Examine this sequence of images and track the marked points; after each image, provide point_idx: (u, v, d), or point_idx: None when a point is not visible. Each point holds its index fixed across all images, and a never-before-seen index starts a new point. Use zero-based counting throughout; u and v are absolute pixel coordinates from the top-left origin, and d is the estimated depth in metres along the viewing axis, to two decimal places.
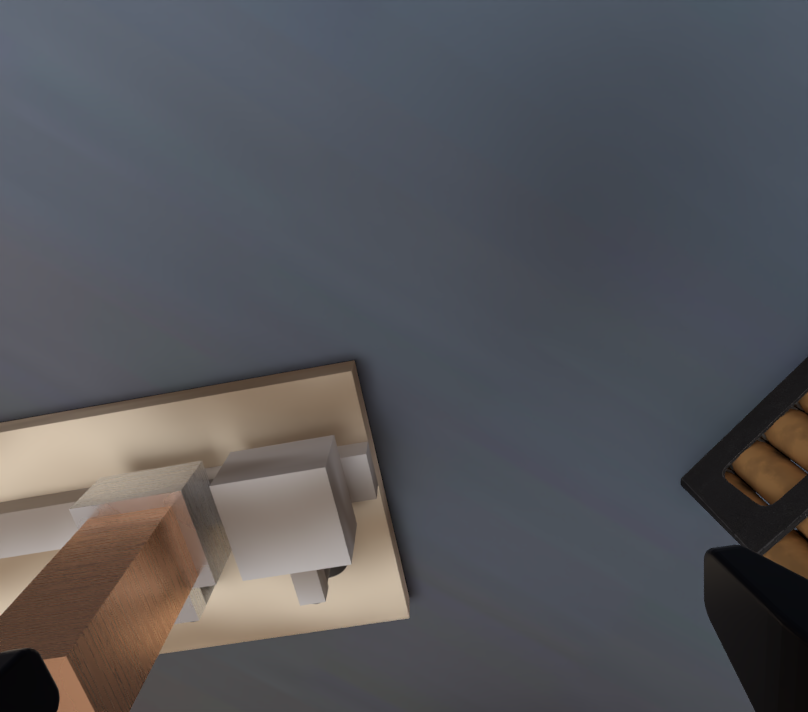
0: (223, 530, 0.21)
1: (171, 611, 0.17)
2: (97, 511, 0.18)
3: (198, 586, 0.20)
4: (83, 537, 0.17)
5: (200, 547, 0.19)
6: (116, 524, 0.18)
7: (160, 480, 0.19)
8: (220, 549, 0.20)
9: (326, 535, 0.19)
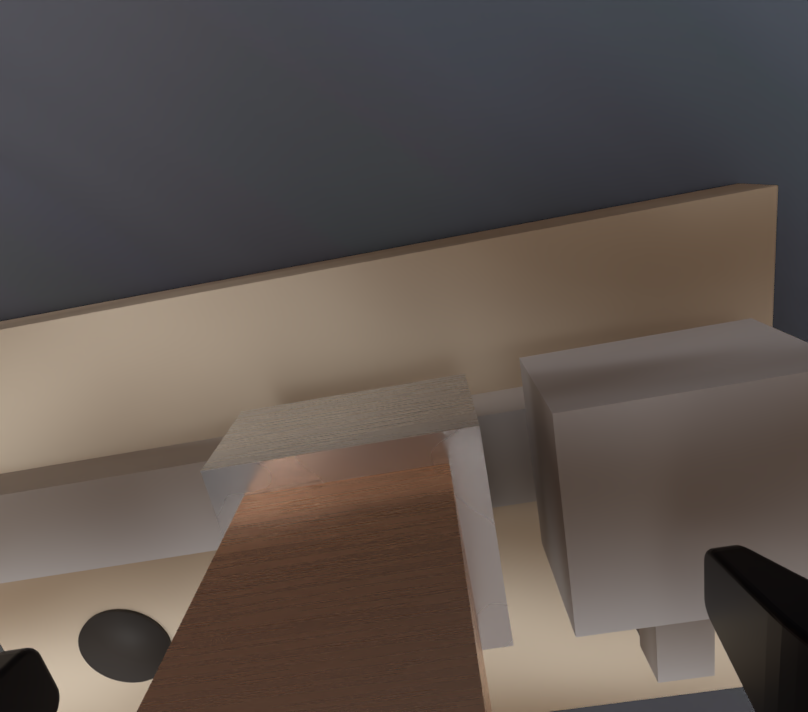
0: None
1: None
2: (268, 476, 0.08)
3: None
4: (257, 539, 0.07)
5: (496, 562, 0.08)
6: (330, 506, 0.07)
7: (397, 409, 0.08)
8: None
9: (798, 536, 0.08)
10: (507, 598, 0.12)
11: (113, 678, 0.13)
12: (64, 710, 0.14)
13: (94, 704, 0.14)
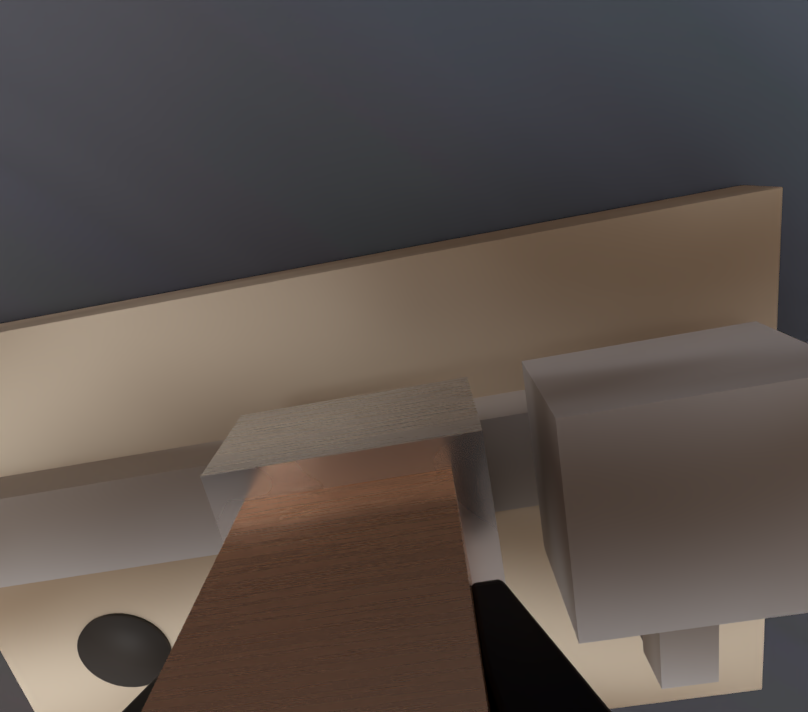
0: None
1: None
2: (268, 482, 0.08)
3: None
4: (257, 546, 0.07)
5: (499, 568, 0.08)
6: (331, 512, 0.07)
7: (400, 413, 0.08)
8: None
9: (805, 542, 0.08)
10: None
11: (112, 682, 0.13)
12: None
13: (93, 709, 0.14)
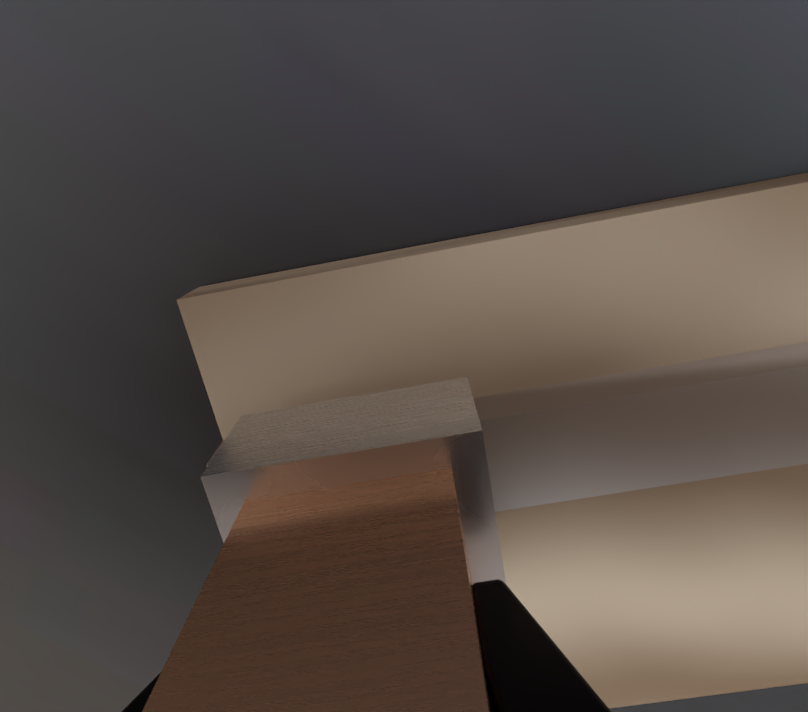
0: None
1: None
2: (268, 482, 0.08)
3: None
4: (257, 546, 0.07)
5: (499, 568, 0.08)
6: (331, 512, 0.07)
7: (399, 414, 0.08)
8: None
9: None
10: None
11: None
12: None
13: None
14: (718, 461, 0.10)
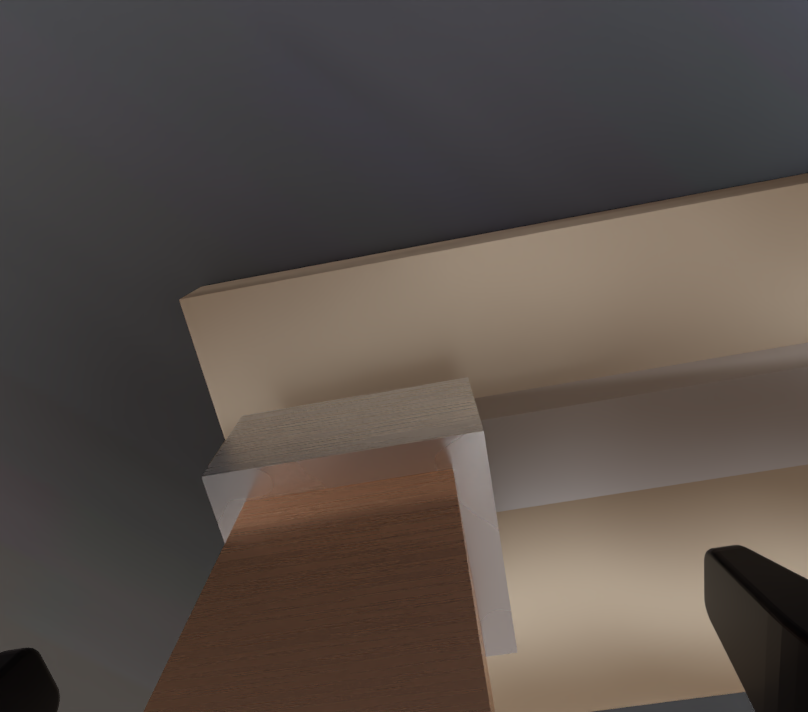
0: None
1: None
2: (269, 482, 0.08)
3: None
4: (259, 547, 0.07)
5: (500, 569, 0.08)
6: (333, 513, 0.07)
7: (400, 414, 0.08)
8: None
9: None
10: None
11: None
12: None
13: None
14: (720, 461, 0.10)
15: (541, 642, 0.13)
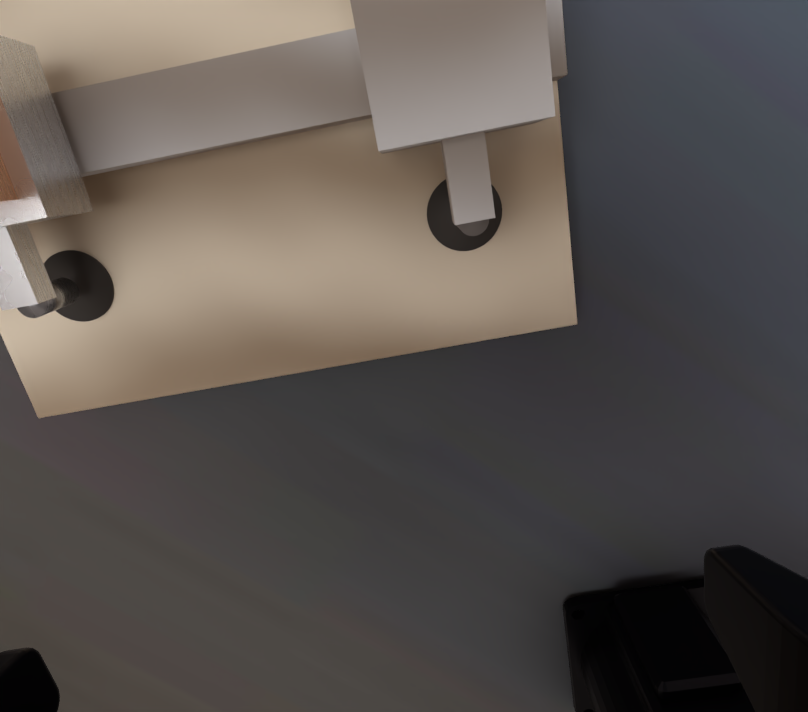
0: (74, 171, 0.14)
1: None
2: None
3: (21, 220, 0.13)
4: None
5: (15, 142, 0.12)
6: None
7: None
8: (64, 186, 0.14)
9: (521, 53, 0.12)
10: (372, 237, 0.16)
11: (68, 319, 0.17)
12: (30, 353, 0.17)
13: (53, 347, 0.17)
14: (240, 126, 0.14)
15: (182, 317, 0.17)
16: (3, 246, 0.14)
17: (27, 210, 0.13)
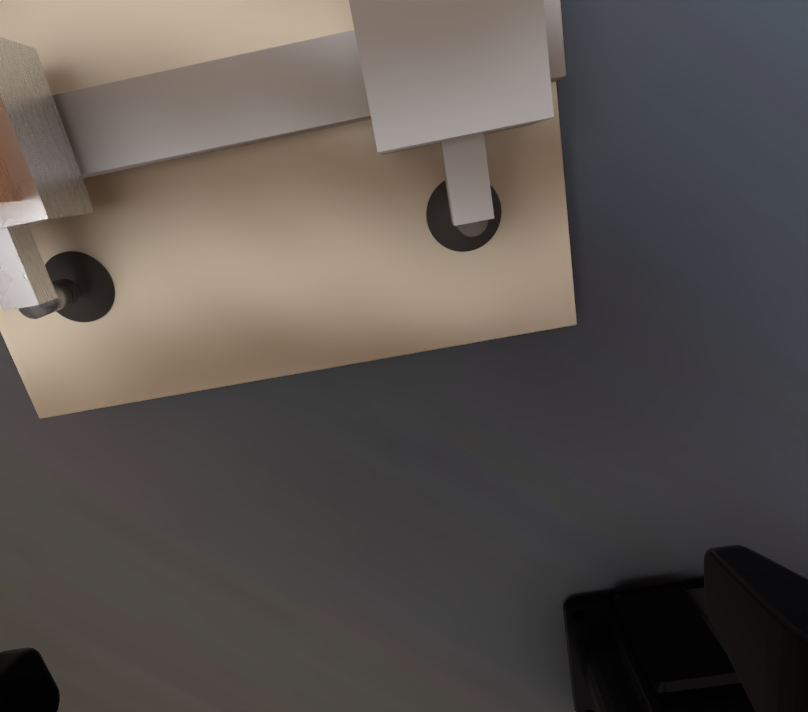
0: (75, 173, 0.14)
1: None
2: None
3: (22, 221, 0.13)
4: None
5: (16, 144, 0.12)
6: None
7: None
8: (65, 187, 0.14)
9: (519, 55, 0.12)
10: (372, 238, 0.16)
11: (69, 319, 0.17)
12: (31, 354, 0.17)
13: (54, 348, 0.17)
14: (240, 128, 0.14)
15: (182, 318, 0.17)
16: (4, 247, 0.14)
17: (28, 211, 0.13)
